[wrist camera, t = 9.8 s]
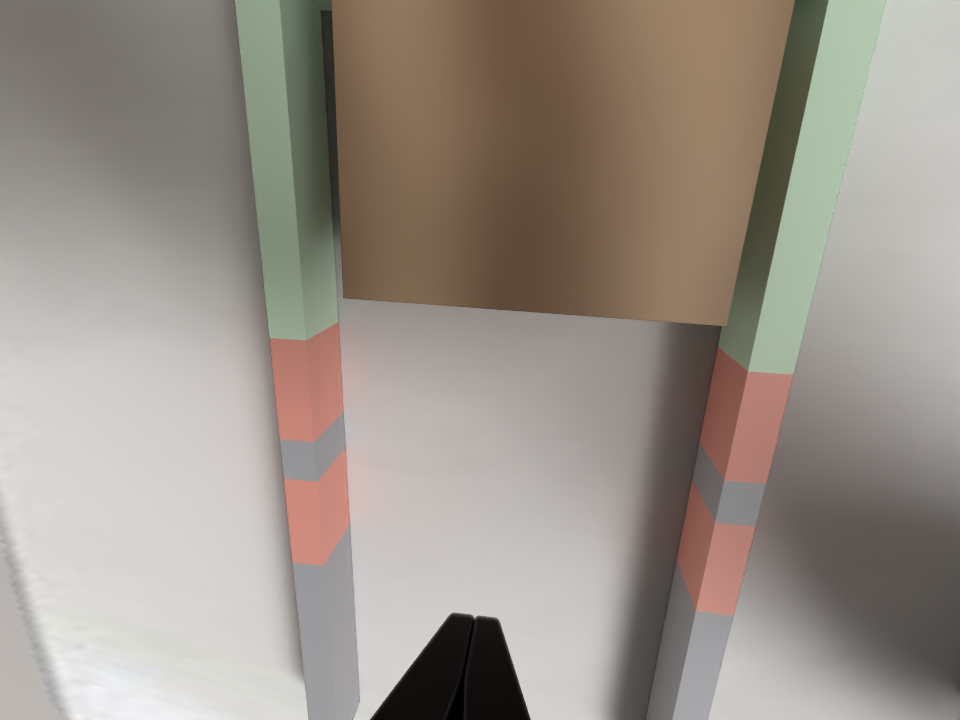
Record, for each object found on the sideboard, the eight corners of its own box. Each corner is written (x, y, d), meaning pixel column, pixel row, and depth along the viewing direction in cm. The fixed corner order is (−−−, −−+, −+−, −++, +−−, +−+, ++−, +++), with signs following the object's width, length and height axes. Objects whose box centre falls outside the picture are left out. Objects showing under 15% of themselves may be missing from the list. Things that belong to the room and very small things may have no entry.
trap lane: (842, -48, 13) (930, -121, 10) (668, 748, 22) (687, 830, 19) (278, -38, 14) (212, -98, 11) (335, 697, 23) (306, 766, 20)
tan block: (726, 54, 14) (795, -4, 10) (683, 297, 16) (726, 326, 12) (385, 47, 15) (331, -6, 11) (387, 277, 17) (343, 297, 13)
